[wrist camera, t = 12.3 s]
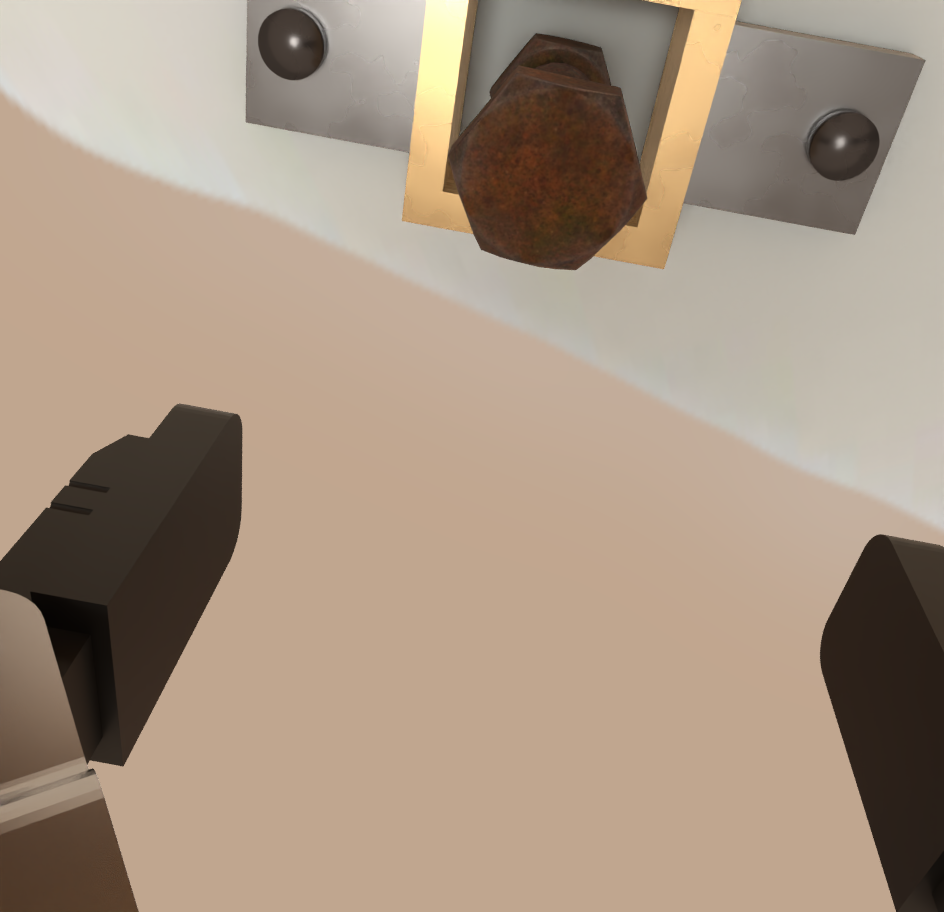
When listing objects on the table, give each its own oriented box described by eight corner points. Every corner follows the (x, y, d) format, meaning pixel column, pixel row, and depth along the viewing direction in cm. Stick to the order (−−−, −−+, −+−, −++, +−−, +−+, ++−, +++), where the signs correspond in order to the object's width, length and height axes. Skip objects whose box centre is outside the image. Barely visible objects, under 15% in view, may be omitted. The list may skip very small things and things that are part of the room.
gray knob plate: (912, 53, 36) (932, 63, 34) (845, 222, 39) (859, 241, 37) (691, 12, 36) (698, 20, 34) (645, 185, 39) (649, 202, 37)
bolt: (632, 130, 38) (660, 250, 26) (520, 167, 39) (495, 298, 27) (597, -14, 35) (609, 41, 23) (478, 30, 37) (426, 106, 24)
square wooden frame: (731, -40, 34) (750, -30, 31) (655, 233, 40) (664, 269, 37) (452, -91, 34) (436, -88, 31) (418, 189, 40) (401, 220, 37)
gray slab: (457, -31, 36) (450, -26, 33) (434, 147, 39) (427, 161, 37) (260, -67, 35) (241, -65, 33) (257, 114, 39) (239, 126, 37)
